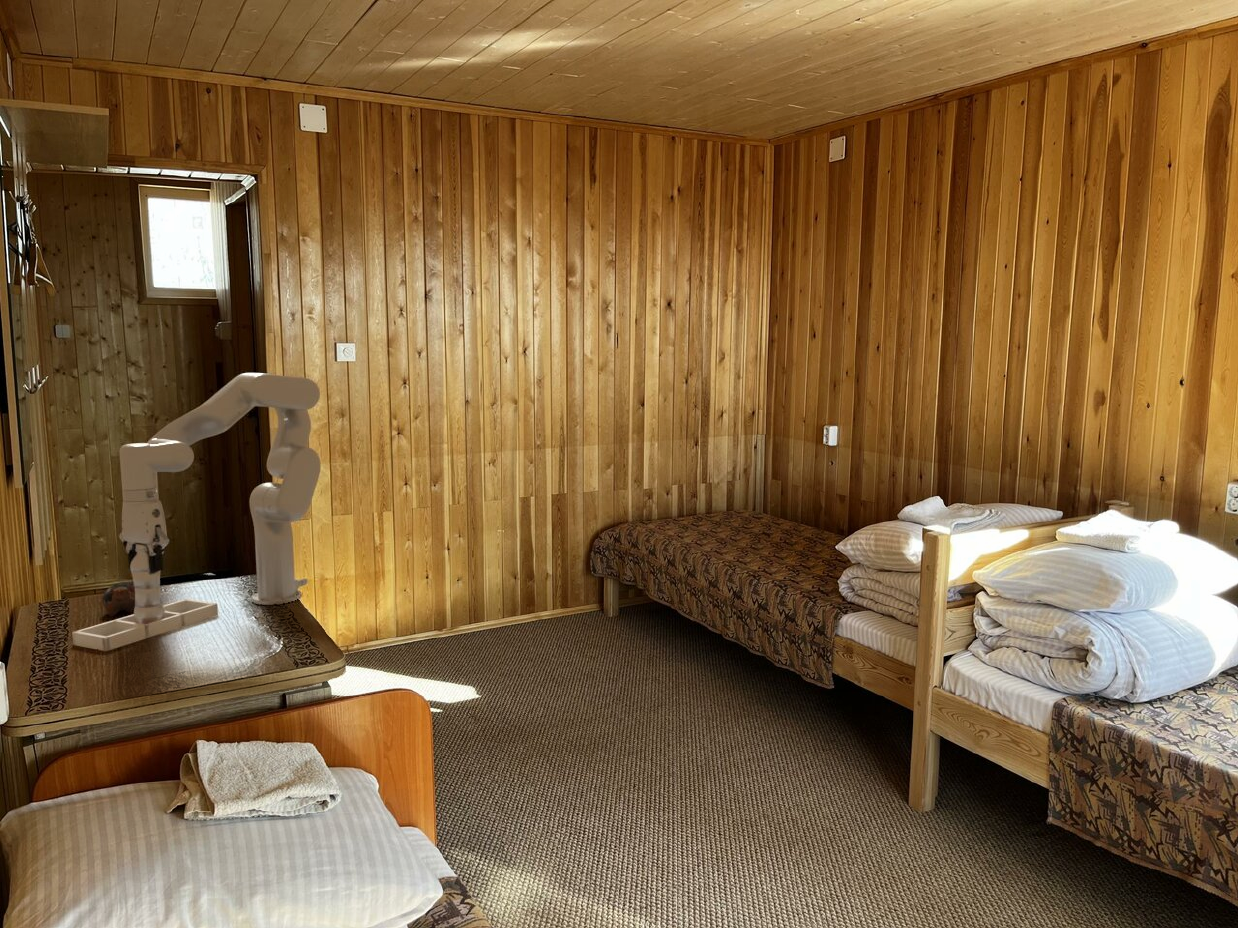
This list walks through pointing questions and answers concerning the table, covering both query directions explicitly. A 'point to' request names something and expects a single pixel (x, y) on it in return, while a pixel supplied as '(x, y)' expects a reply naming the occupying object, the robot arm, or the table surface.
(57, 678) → the table surface
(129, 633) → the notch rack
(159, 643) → the table surface
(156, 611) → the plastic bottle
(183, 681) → the table surface
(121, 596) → the decorative turtle
